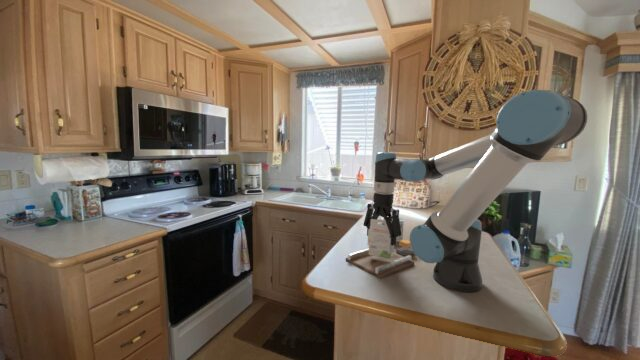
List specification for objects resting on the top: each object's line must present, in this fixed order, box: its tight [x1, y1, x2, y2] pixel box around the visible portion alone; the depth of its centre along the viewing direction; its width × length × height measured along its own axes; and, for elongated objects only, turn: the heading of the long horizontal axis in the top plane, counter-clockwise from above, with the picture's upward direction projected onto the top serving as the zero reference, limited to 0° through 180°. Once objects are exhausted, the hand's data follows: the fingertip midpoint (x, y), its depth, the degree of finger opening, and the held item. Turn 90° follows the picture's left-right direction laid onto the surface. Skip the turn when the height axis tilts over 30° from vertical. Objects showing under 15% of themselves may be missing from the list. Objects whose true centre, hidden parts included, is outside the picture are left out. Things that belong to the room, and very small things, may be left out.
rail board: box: [345, 252, 415, 279], centre depth 105 cm, size 18×20×1 cm
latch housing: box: [395, 246, 416, 257], centre depth 115 cm, size 6×6×2 cm
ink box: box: [368, 219, 392, 258], centre depth 104 cm, size 9×5×15 cm, turn 70°
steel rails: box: [347, 247, 413, 274], centre depth 105 cm, size 15×20×2 cm
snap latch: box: [398, 239, 412, 249], centre depth 114 cm, size 4×4×2 cm
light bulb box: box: [379, 216, 404, 243], centre depth 132 cm, size 11×7×11 cm, turn 84°
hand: (380, 248), depth 104 cm, fingers closed on ink box, 9 cm apart
